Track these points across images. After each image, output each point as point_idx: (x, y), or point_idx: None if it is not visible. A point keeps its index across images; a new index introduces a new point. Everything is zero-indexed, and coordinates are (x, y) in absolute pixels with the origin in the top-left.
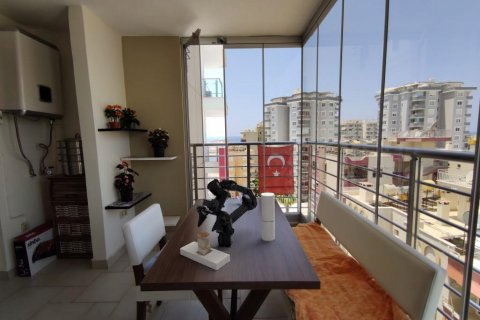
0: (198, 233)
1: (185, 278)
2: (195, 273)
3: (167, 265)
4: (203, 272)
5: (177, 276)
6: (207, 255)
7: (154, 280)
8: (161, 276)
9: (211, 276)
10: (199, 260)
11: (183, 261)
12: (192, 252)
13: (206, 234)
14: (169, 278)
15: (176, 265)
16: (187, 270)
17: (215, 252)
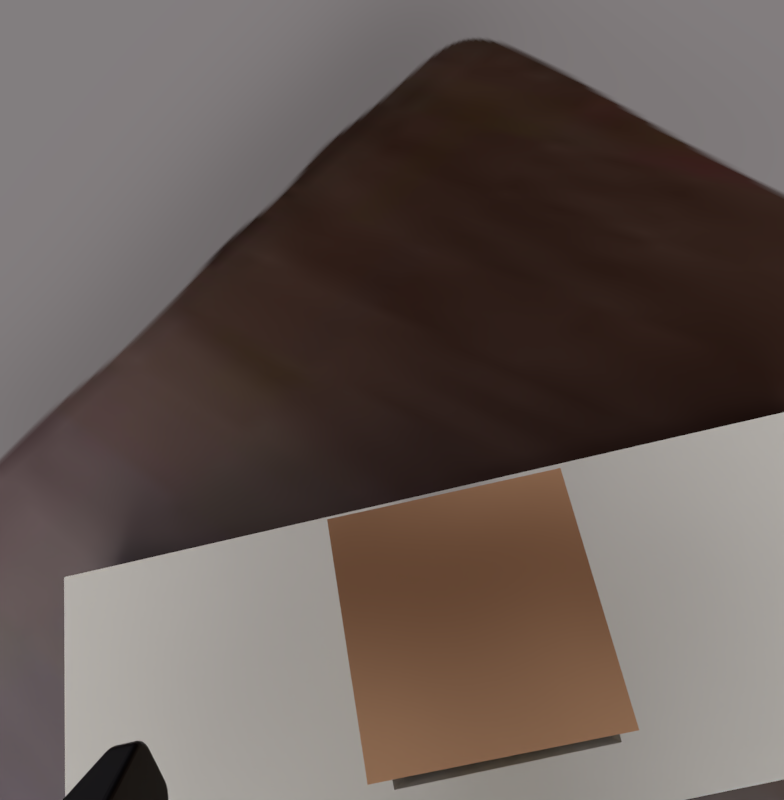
0: (559, 506)
1: (263, 274)
2: (256, 380)
3: (617, 223)
4: (205, 452)
5: (348, 232)
6: (331, 611)
7: (442, 78)
8: (458, 131)
9: (83, 478)
10: None
11: (579, 386)
12: (576, 483)
13: (349, 648)
14: (375, 172)
15: (548, 293)
16: (368, 342)
17: (311, 777)
